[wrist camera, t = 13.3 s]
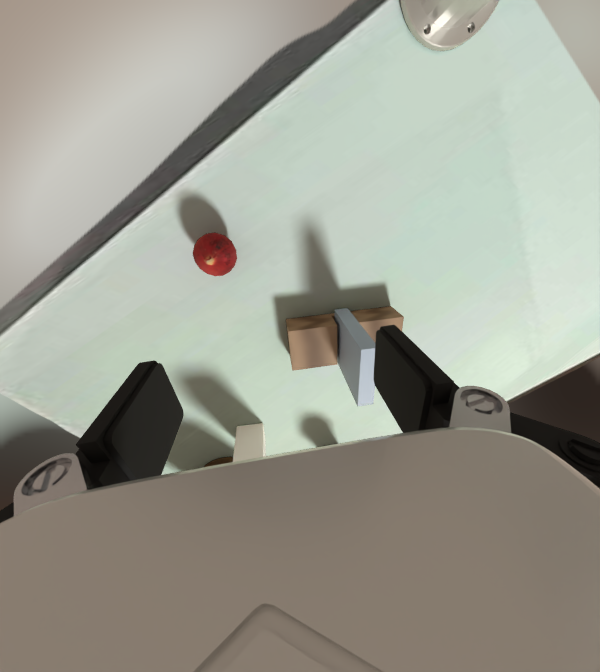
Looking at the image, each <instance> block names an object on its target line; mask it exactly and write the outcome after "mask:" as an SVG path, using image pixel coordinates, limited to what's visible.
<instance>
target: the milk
mask: <svg viewBox="0 0 600 672" xmlns="http://www.w3.org/2000/svg"><path fill="white" fill-rule="evenodd" d="M264 456H266V450H265V434H264V426H263V423H259V424H250V425H242V426H237V429H236V438H235V446H234V454H233V462H236V461H242V460H248V459H253V458H259V457H264Z"/></svg>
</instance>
